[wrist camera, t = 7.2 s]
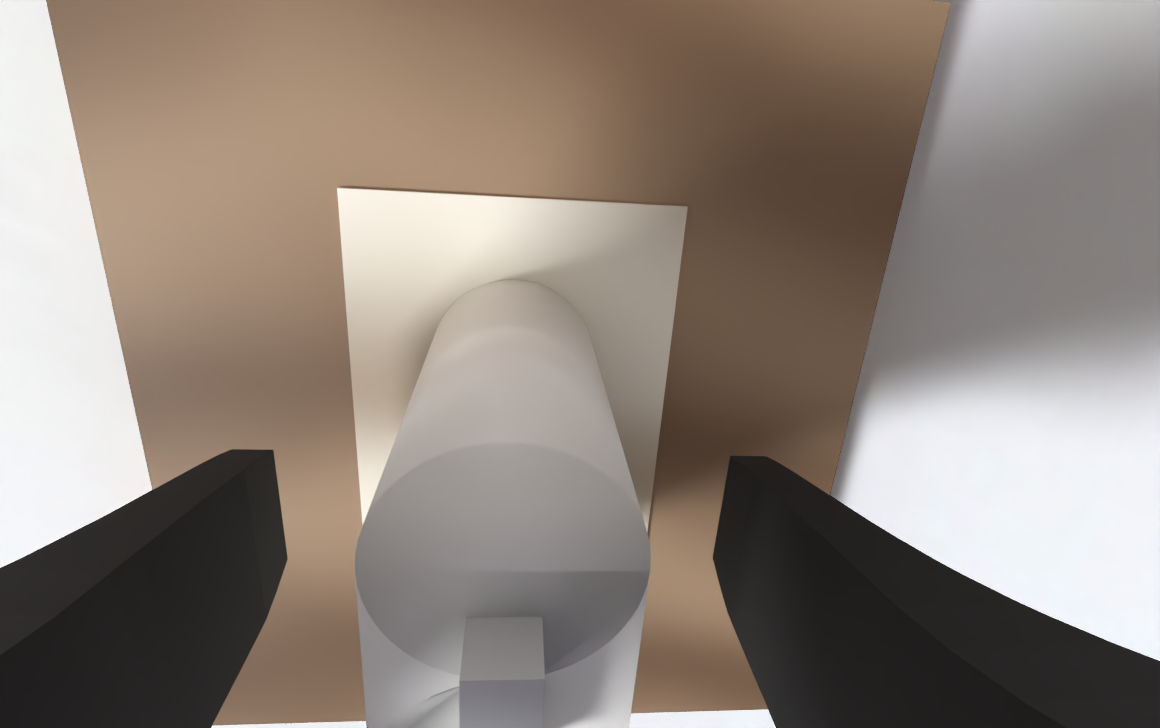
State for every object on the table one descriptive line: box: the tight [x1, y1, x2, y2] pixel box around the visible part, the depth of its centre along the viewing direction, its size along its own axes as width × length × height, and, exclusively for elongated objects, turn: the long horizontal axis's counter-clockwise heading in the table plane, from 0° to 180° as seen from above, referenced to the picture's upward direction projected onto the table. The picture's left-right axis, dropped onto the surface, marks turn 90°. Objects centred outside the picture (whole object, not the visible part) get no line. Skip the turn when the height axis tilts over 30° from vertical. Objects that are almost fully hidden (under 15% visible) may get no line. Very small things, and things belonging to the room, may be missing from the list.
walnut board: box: [46, 0, 951, 725], centre depth 13 cm, size 16×14×1 cm
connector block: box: [355, 280, 651, 728], centre depth 9 cm, size 6×3×7 cm, turn 176°
